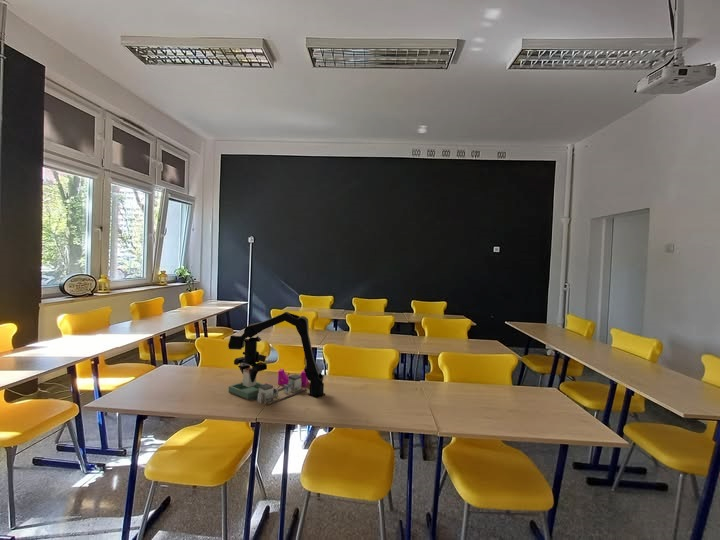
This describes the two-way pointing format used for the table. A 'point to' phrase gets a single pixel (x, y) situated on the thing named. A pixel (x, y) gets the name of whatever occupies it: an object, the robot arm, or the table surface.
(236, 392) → the tray
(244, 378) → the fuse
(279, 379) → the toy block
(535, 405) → the table surface
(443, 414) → the table surface
